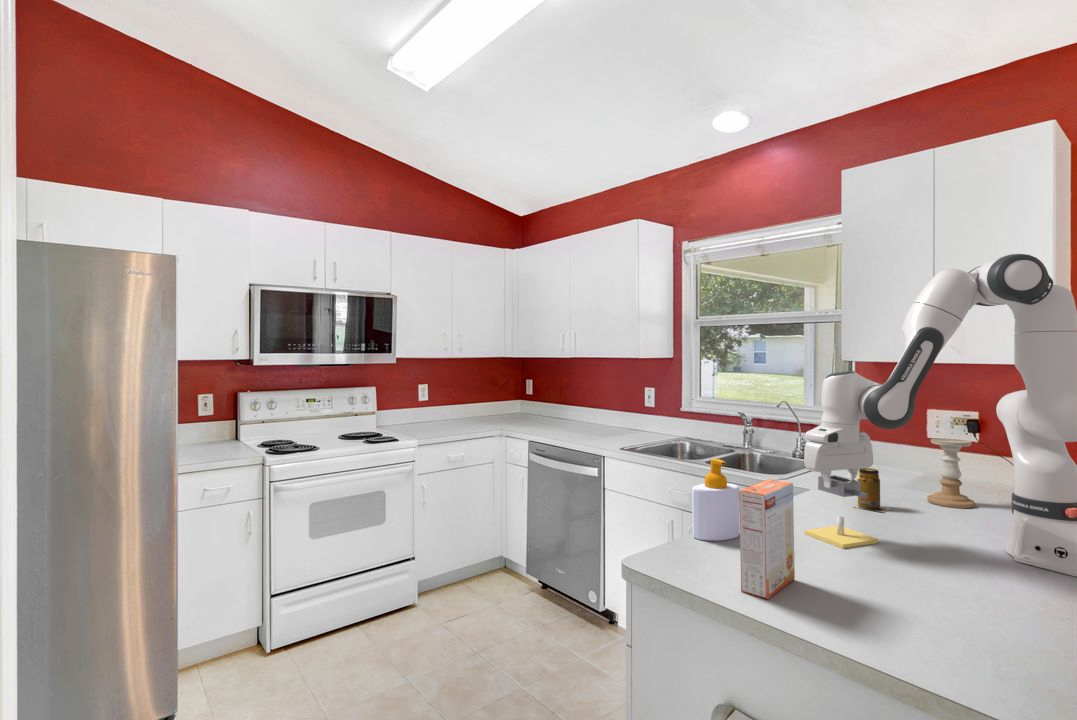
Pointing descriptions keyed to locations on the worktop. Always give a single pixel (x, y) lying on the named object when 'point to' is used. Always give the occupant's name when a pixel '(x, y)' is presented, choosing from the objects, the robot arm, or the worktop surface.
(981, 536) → the worktop surface
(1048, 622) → the worktop surface
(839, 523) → the keeper
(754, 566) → the cracker box
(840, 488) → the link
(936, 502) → the candle holder
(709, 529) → the soap bottle
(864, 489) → the condiment
